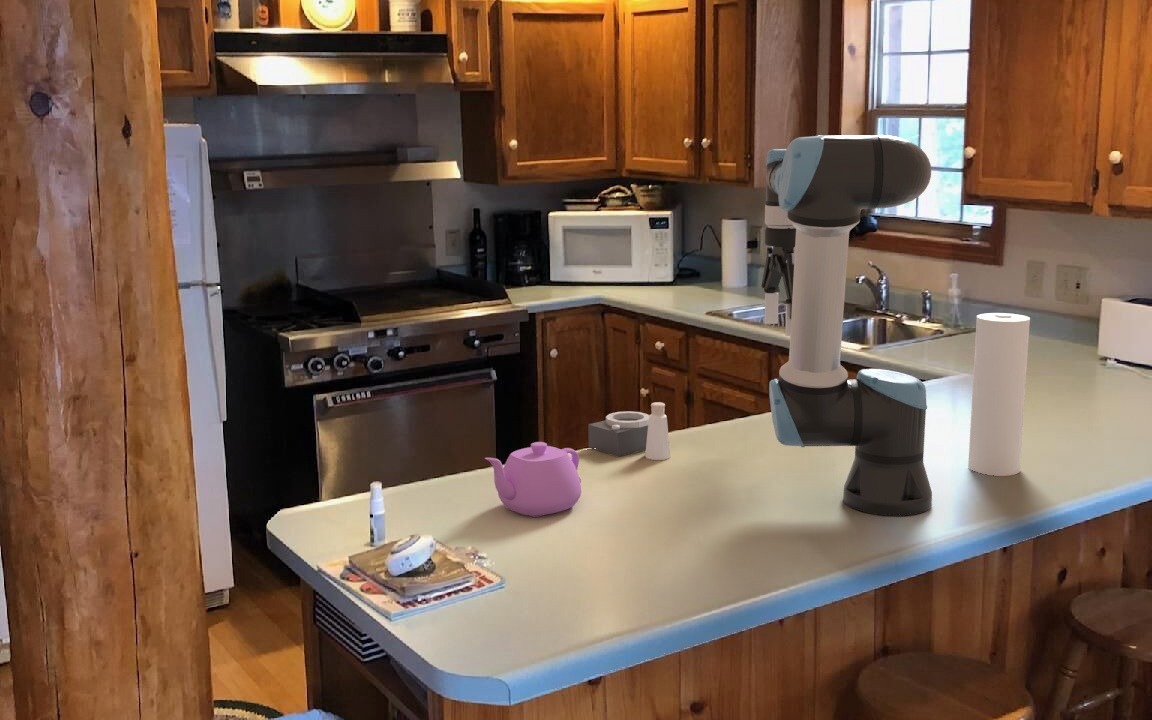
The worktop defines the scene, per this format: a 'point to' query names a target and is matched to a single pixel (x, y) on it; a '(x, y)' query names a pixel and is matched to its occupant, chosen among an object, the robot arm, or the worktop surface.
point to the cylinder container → (998, 393)
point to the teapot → (538, 480)
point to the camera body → (619, 433)
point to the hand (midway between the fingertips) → (781, 329)
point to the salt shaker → (657, 434)
